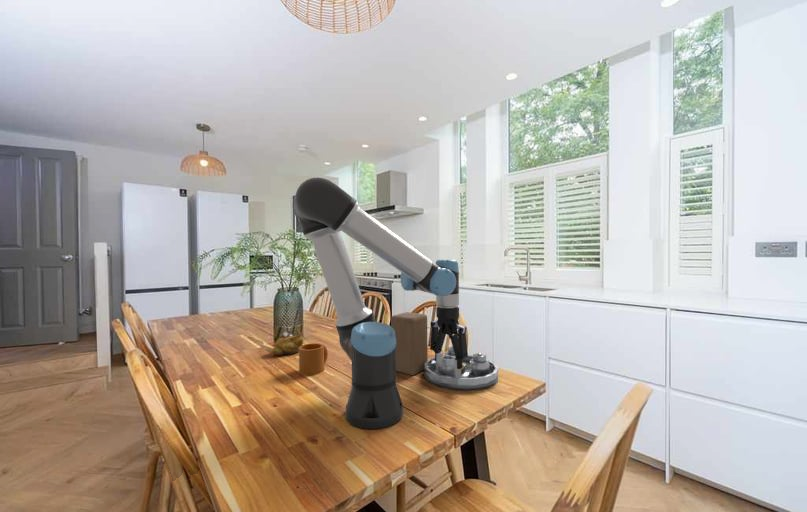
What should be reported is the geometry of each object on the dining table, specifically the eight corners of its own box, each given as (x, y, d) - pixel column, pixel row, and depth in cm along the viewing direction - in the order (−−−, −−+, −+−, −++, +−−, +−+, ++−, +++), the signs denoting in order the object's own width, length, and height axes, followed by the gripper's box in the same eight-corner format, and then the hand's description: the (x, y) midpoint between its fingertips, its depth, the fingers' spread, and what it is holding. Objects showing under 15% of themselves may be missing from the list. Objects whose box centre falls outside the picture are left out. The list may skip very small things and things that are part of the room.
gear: (450, 381, 107) (449, 362, 106) (434, 375, 112) (434, 357, 111) (463, 375, 111) (463, 357, 111) (447, 370, 116) (447, 353, 116)
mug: (336, 368, 124) (336, 344, 124) (307, 377, 116) (307, 352, 115) (322, 362, 131) (322, 339, 130) (294, 371, 122) (294, 346, 121)
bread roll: (274, 359, 136) (274, 339, 136) (268, 353, 144) (267, 334, 144) (305, 353, 144) (305, 334, 144) (297, 347, 151) (297, 330, 151)
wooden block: (413, 376, 115) (412, 318, 115) (390, 370, 121) (389, 315, 121) (428, 368, 123) (428, 314, 123) (407, 363, 129) (406, 311, 129)
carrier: (468, 397, 98) (467, 370, 98) (409, 375, 116) (409, 352, 116) (512, 375, 115) (512, 352, 115) (454, 358, 133) (454, 338, 133)
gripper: (479, 308, 106) (480, 380, 107) (433, 301, 121) (434, 365, 121) (464, 311, 101) (465, 386, 101) (418, 304, 116) (419, 370, 116)
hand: (448, 374), depth 111 cm, fingers closed on gear, 7 cm apart
